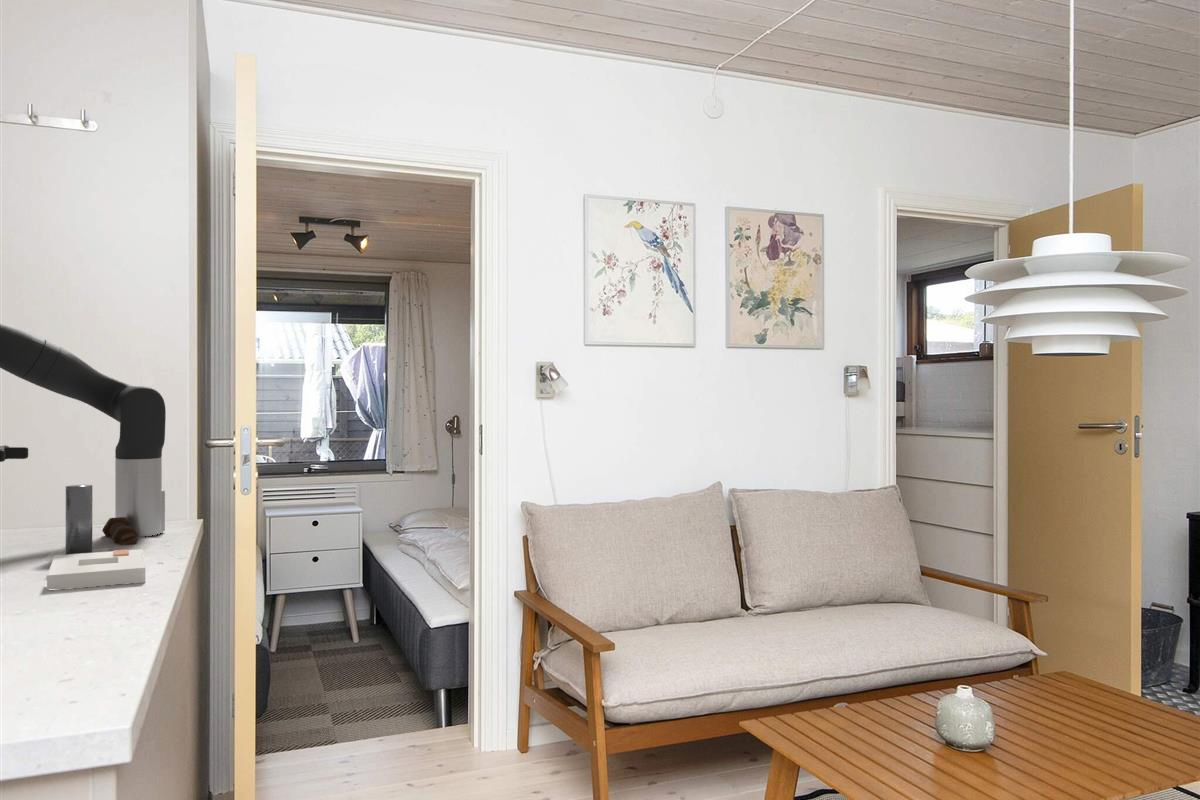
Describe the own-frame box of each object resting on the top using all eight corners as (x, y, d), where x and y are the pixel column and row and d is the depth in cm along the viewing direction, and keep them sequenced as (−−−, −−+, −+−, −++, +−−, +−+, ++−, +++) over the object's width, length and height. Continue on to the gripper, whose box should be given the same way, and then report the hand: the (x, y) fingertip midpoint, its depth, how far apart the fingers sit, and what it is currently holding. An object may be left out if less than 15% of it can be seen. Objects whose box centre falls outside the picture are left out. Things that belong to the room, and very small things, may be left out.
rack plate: (54, 569, 159) (54, 553, 159) (142, 562, 166) (142, 547, 166) (46, 591, 141) (46, 573, 141) (145, 582, 148) (145, 565, 148)
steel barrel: (79, 551, 171) (79, 484, 171) (97, 552, 170) (97, 485, 170) (59, 555, 167) (60, 486, 167) (78, 556, 166) (78, 487, 166)
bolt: (125, 559, 179) (112, 546, 191) (149, 545, 182) (135, 533, 194) (109, 536, 177) (97, 524, 189) (133, 521, 180) (120, 511, 192)
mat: (49, 557, 170) (49, 552, 170) (109, 553, 175) (109, 547, 175) (46, 566, 162) (46, 560, 162) (108, 561, 166) (108, 556, 166)
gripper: (-103, 435, 157) (-4, 436, 159) (-56, 432, 171) (34, 433, 174) (-104, 477, 157) (-4, 477, 159) (-57, 471, 171) (34, 471, 174)
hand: (16, 454), depth 167 cm, fingers open, 8 cm apart
